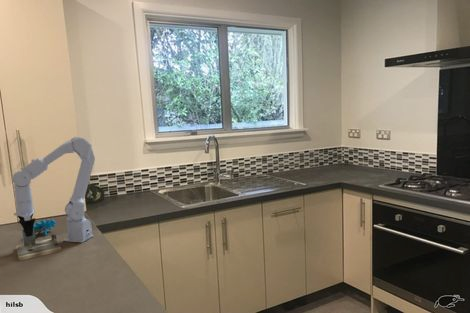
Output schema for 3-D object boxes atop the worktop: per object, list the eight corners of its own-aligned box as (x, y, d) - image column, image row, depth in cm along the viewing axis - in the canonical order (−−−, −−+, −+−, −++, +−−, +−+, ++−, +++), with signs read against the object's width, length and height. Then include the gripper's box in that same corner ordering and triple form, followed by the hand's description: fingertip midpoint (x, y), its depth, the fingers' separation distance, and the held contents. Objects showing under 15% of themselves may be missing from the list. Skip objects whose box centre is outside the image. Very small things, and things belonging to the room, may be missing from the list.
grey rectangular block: (34, 241, 147) (33, 227, 146) (36, 246, 141) (34, 232, 140) (23, 244, 144) (21, 229, 144) (24, 249, 138) (23, 234, 138)
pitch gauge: (55, 240, 154) (54, 231, 153) (61, 250, 141) (60, 241, 141) (16, 248, 146) (15, 239, 145) (19, 260, 133) (17, 250, 133)
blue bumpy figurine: (56, 225, 169) (53, 215, 161) (59, 236, 166) (56, 226, 159) (30, 233, 164) (26, 223, 156) (33, 244, 161) (28, 234, 153)
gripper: (11, 199, 145) (15, 231, 147) (13, 206, 133) (18, 241, 135) (31, 196, 149) (35, 227, 151) (34, 203, 137) (39, 236, 139)
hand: (28, 233), depth 144 cm, fingers open, 7 cm apart
